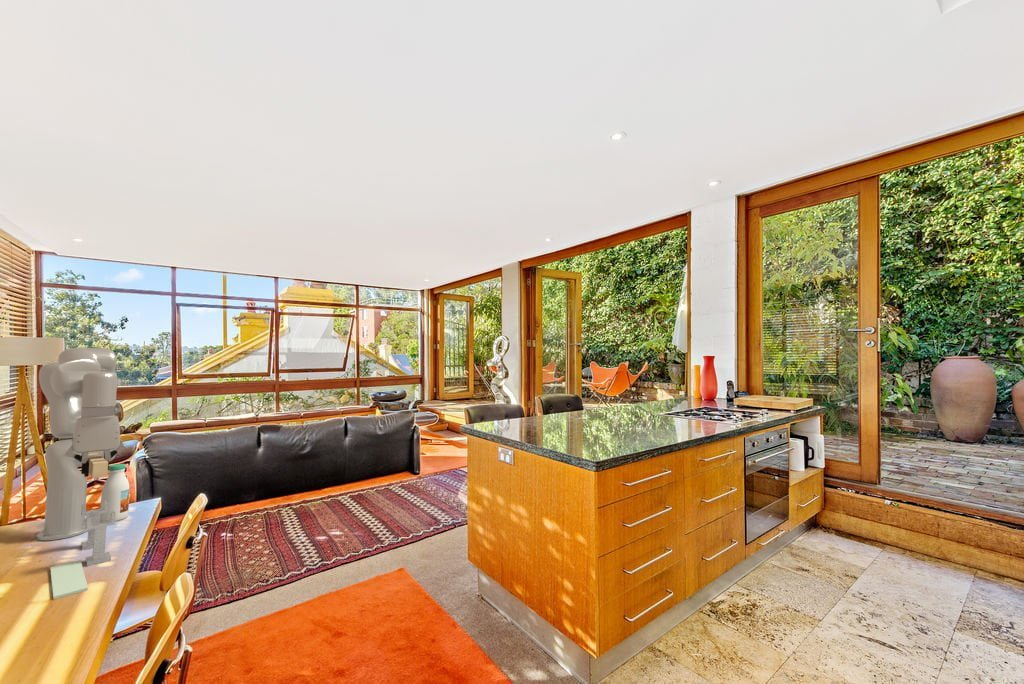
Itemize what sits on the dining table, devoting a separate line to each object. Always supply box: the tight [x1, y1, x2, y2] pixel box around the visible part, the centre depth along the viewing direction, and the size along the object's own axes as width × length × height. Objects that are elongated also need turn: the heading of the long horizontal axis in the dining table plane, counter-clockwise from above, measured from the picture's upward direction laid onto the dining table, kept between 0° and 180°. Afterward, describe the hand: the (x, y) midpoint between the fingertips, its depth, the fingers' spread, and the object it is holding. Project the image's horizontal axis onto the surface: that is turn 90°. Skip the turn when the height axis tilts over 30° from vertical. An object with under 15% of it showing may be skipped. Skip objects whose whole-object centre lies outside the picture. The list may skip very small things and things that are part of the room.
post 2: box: [84, 511, 116, 567], centre depth 126 cm, size 5×6×13 cm
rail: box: [87, 453, 109, 479], centre depth 128 cm, size 22×3×4 cm, turn 50°
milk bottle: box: [99, 463, 130, 522], centre depth 159 cm, size 8×8×20 cm
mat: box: [49, 559, 89, 600], centre depth 114 cm, size 23×6×1 cm, turn 49°
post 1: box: [80, 500, 109, 551], centre depth 136 cm, size 5×6×13 cm
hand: (94, 474), depth 128 cm, fingers closed on rail, 3 cm apart
